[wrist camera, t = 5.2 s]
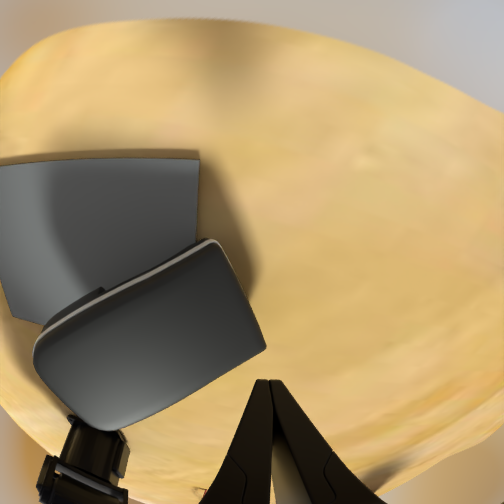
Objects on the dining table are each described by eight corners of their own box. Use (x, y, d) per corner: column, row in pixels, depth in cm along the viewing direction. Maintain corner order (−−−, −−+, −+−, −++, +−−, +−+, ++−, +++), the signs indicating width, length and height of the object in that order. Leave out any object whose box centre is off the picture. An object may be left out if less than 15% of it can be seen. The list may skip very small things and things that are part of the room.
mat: (15, 313, 17) (12, 316, 17) (-16, 168, 12) (-19, 169, 12) (195, 347, 18) (194, 351, 18) (200, 159, 14) (198, 160, 13)
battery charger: (200, 223, 16) (32, 319, 12) (223, 236, 12) (15, 355, 9) (245, 320, 18) (100, 400, 15) (274, 350, 15) (102, 441, 12)
